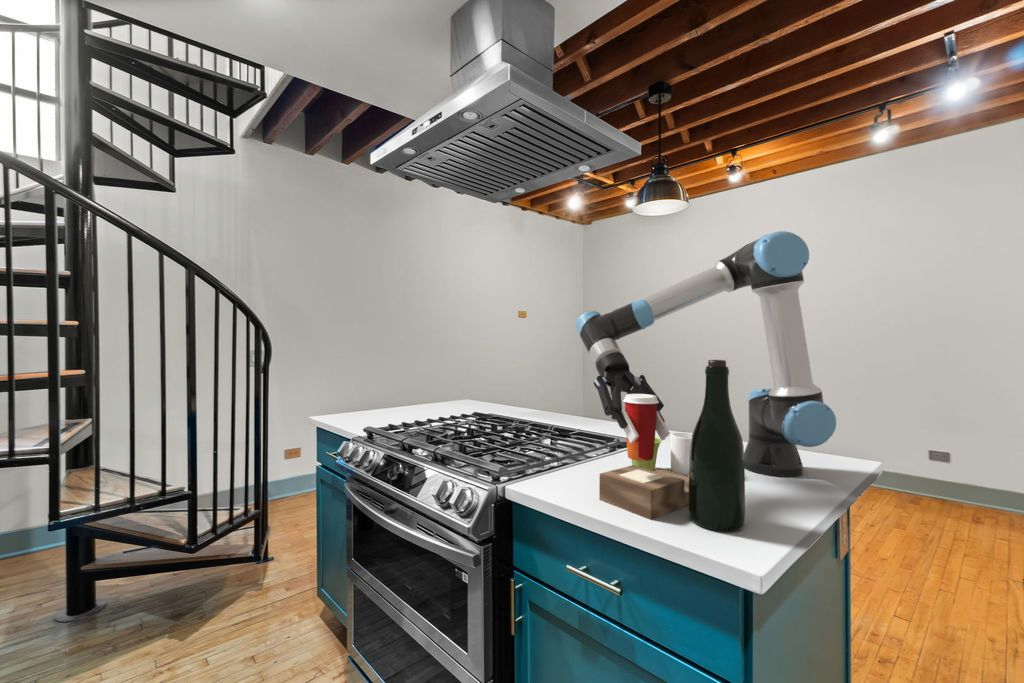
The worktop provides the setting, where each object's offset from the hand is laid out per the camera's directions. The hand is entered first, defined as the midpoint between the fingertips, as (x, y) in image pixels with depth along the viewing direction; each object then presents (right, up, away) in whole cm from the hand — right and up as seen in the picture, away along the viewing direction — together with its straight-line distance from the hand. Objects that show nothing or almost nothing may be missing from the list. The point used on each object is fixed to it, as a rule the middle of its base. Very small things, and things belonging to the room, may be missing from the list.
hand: (650, 438), depth 97 cm
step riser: (+4, -15, +7) cm, 17 cm away
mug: (+19, -16, +26) cm, 35 cm away
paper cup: (-1, -5, +3) cm, 6 cm away
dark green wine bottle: (+11, -16, -7) cm, 21 cm away
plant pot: (+7, -16, +29) cm, 34 cm away
